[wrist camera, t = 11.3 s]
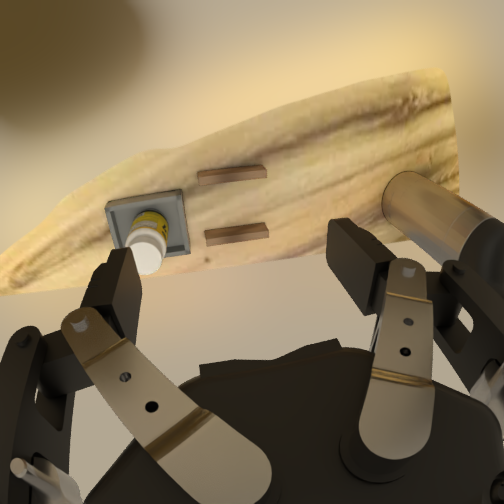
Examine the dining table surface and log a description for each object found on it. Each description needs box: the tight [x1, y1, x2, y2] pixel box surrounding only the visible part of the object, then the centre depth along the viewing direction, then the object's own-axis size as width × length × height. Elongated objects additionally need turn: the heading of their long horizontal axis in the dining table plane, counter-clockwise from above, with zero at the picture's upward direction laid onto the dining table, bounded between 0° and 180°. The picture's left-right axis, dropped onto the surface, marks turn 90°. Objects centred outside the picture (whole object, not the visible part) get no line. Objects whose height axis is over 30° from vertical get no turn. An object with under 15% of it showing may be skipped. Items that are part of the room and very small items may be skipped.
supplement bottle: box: [125, 209, 169, 275], centre depth 34 cm, size 5×5×8 cm
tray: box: [105, 189, 191, 258], centre depth 37 cm, size 10×8×2 cm
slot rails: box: [197, 165, 269, 246], centre depth 38 cm, size 8×9×2 cm
